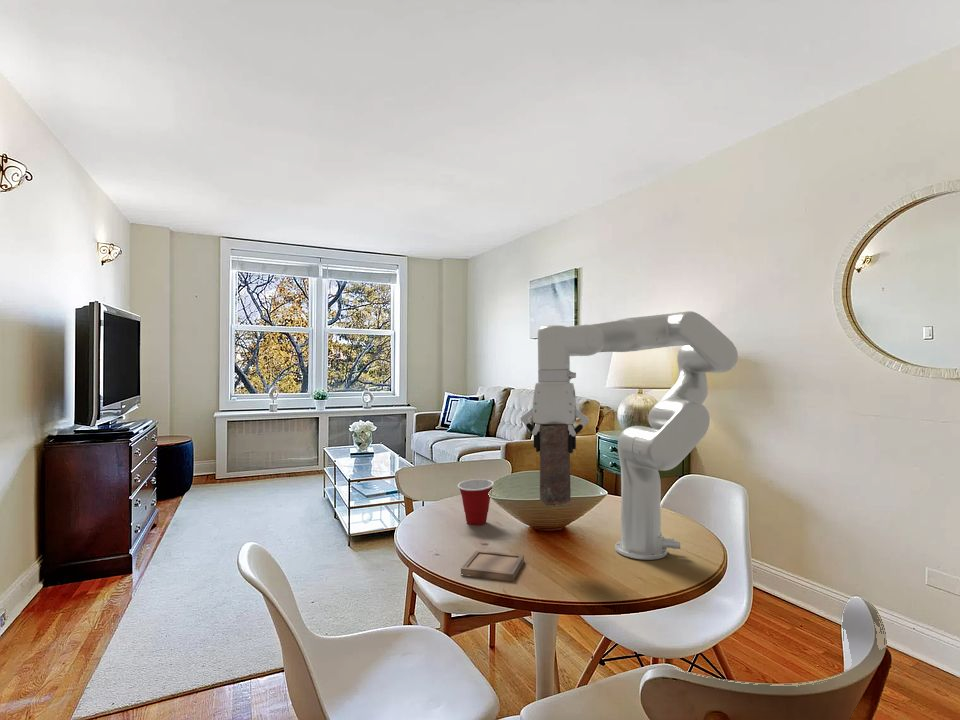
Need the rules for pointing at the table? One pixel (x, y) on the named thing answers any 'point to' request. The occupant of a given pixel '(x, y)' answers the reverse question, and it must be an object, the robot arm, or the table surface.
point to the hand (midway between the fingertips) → (554, 451)
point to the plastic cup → (476, 500)
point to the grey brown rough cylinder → (554, 464)
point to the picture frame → (493, 565)
